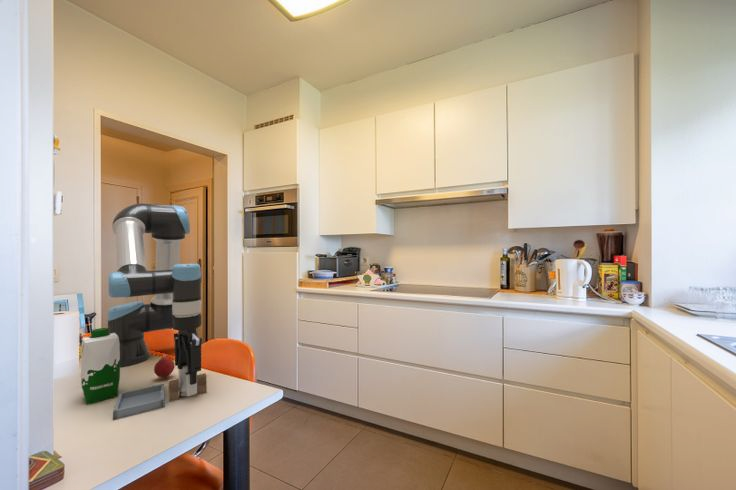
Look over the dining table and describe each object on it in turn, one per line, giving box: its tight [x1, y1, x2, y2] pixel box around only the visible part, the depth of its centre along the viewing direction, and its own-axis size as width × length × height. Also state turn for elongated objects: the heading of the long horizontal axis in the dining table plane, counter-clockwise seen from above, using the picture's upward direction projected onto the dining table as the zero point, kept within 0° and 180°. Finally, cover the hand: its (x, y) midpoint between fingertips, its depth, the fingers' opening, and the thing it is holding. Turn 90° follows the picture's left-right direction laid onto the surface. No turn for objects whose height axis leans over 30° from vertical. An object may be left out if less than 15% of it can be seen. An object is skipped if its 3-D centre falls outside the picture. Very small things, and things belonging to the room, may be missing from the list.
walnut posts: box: [168, 373, 208, 403], centre depth 92 cm, size 3×10×5 cm, turn 123°
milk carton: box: [80, 327, 121, 405], centre depth 93 cm, size 9×9×20 cm
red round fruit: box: [153, 354, 176, 379], centre depth 106 cm, size 6×6×8 cm
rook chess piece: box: [179, 366, 188, 397], centre depth 92 cm, size 4×4×8 cm
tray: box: [112, 383, 165, 421], centre depth 88 cm, size 13×11×2 cm
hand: (188, 392), depth 92 cm, fingers closed on rook chess piece, 4 cm apart
